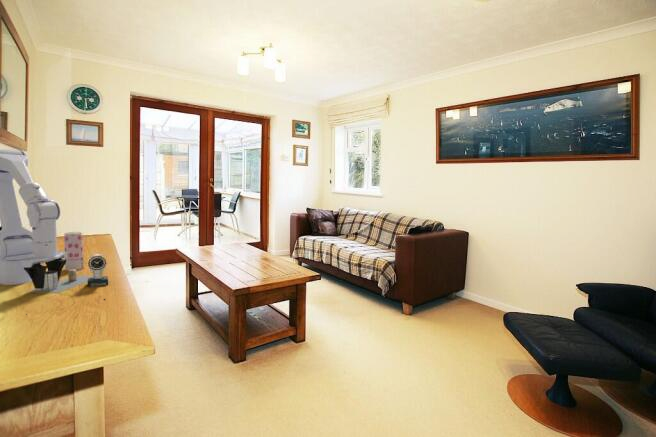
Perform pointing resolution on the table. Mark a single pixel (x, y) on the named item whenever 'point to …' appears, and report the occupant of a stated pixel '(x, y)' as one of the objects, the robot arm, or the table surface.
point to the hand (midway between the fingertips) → (46, 285)
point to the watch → (97, 270)
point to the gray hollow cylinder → (50, 281)
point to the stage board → (67, 284)
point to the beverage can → (74, 250)
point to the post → (72, 275)
